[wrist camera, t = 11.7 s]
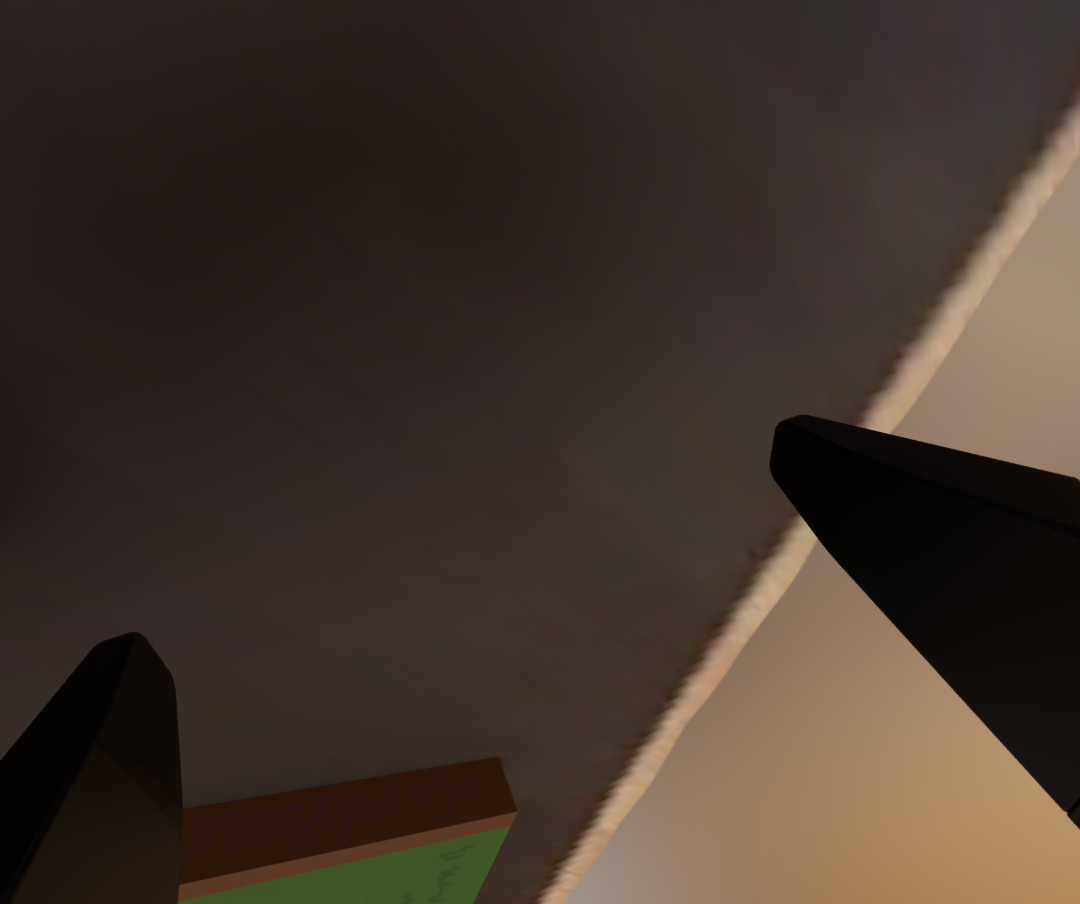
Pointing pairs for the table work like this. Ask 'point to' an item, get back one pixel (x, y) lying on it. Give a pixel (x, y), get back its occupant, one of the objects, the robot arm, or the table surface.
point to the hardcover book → (352, 841)
